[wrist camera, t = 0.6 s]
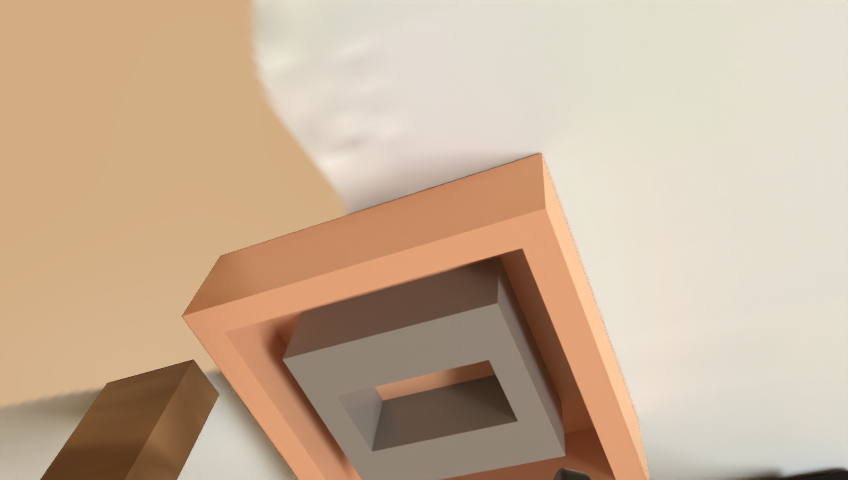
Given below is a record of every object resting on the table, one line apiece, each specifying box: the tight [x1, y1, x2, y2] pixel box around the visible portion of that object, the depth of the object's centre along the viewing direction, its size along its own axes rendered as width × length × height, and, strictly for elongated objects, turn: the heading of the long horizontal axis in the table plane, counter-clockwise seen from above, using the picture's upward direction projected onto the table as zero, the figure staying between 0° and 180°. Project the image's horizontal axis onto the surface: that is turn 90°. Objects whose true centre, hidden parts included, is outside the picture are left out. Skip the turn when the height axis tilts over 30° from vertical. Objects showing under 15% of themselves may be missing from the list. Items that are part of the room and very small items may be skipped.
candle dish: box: [182, 153, 650, 480], centre depth 25 cm, size 12×12×4 cm
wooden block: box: [40, 360, 219, 480], centre depth 26 cm, size 2×4×8 cm, turn 112°
